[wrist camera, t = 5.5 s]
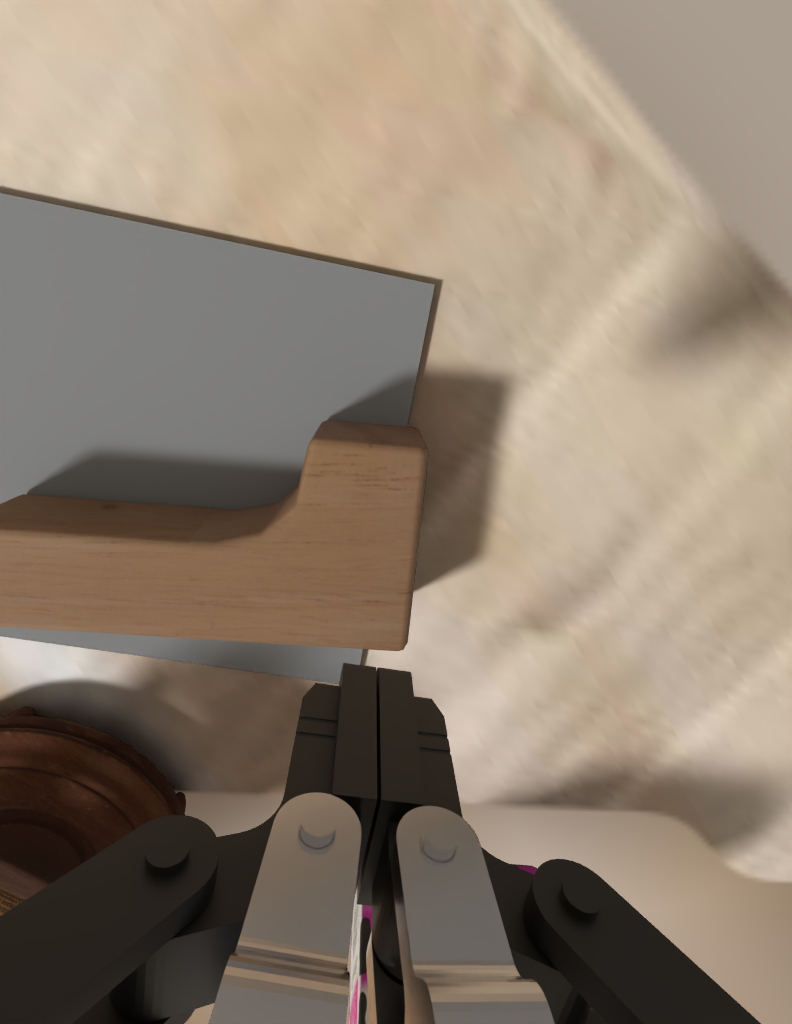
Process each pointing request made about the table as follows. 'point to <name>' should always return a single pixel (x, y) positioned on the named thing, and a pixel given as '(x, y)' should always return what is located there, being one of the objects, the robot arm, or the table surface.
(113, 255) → the mat
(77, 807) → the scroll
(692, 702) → the table surface
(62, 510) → the wooden block
